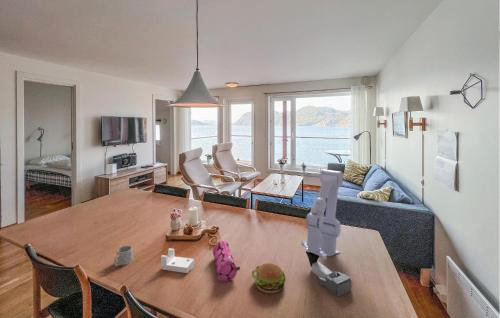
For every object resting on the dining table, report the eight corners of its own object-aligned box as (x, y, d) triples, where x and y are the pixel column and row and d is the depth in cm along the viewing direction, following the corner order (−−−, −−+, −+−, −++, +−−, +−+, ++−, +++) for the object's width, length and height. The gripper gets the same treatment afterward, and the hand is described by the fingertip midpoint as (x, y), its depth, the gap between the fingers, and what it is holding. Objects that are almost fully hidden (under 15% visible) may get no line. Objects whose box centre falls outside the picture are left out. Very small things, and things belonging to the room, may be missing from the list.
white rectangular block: (312, 271, 107) (312, 263, 106) (317, 269, 108) (318, 261, 108) (326, 283, 99) (326, 274, 98) (332, 280, 100) (332, 272, 100)
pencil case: (240, 280, 101) (240, 259, 100) (218, 285, 98) (217, 263, 97) (229, 254, 121) (229, 236, 120) (211, 258, 118) (210, 239, 117)
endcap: (317, 283, 99) (318, 271, 98) (334, 276, 104) (335, 265, 103) (335, 298, 91) (336, 285, 90) (353, 289, 95) (353, 277, 94)
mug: (124, 257, 120) (123, 244, 119) (136, 258, 118) (135, 246, 117) (109, 268, 110) (108, 255, 109) (121, 270, 109) (120, 257, 108)
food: (252, 273, 106) (252, 257, 104) (283, 274, 105) (283, 258, 104) (251, 295, 92) (251, 277, 91) (286, 296, 92) (287, 278, 90)
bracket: (162, 271, 108) (160, 256, 107) (170, 262, 115) (169, 248, 114) (187, 275, 105) (186, 259, 104) (194, 265, 112) (193, 251, 111)
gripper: (296, 234, 111) (296, 260, 113) (318, 248, 98) (317, 277, 100) (308, 231, 114) (307, 256, 116) (330, 244, 102) (329, 272, 104)
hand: (312, 266), depth 109 cm, fingers closed
